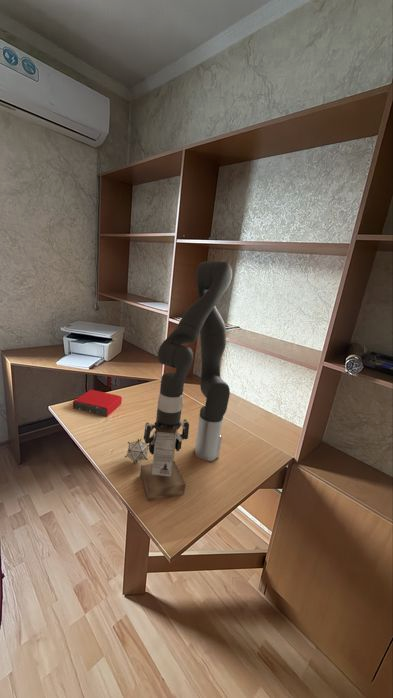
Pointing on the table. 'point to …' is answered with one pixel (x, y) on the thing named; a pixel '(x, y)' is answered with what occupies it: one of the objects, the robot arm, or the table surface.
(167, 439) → the coffee box
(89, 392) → the red device housing
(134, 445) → the game die
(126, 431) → the table surface
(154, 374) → the table surface
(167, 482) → the walnut plinth
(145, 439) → the robot arm
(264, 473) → the table surface
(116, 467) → the table surface
